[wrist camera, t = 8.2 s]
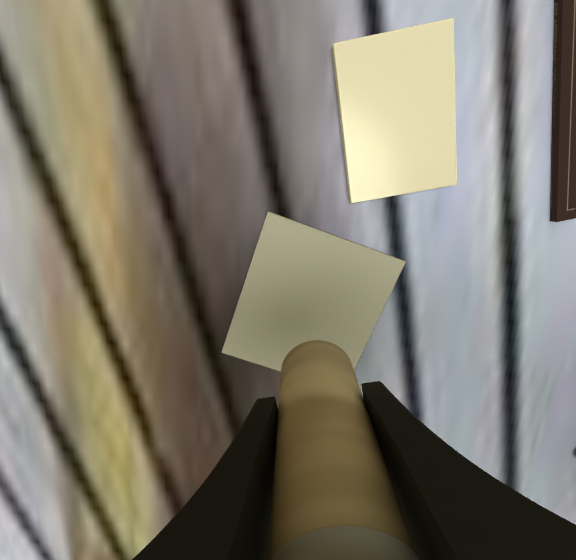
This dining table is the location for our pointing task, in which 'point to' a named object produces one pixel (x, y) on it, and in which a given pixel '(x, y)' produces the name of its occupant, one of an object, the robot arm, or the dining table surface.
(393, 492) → the dowel
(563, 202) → the chocolate bar
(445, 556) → the robot arm
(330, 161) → the dining table surface
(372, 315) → the mat
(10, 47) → the dining table surface
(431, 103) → the tile
